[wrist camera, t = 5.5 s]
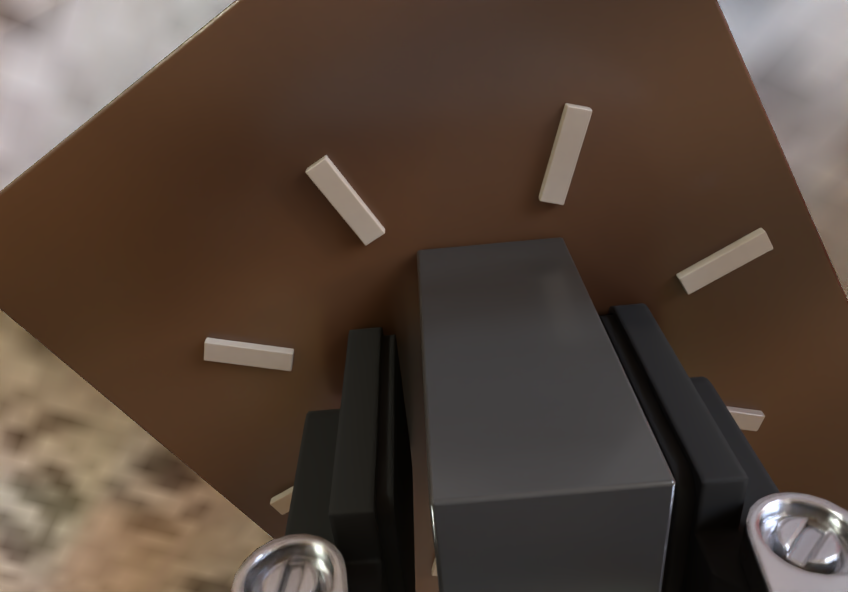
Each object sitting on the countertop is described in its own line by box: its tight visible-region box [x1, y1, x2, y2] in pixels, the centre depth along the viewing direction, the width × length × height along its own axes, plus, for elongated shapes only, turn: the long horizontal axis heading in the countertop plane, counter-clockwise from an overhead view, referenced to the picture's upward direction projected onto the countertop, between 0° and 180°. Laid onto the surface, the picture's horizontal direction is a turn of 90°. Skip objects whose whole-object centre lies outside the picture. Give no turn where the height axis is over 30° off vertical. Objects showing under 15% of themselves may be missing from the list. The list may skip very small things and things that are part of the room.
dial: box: [417, 237, 676, 592], centre depth 10 cm, size 5×2×5 cm, turn 5°
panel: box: [0, 0, 848, 592], centre depth 13 cm, size 14×11×3 cm
